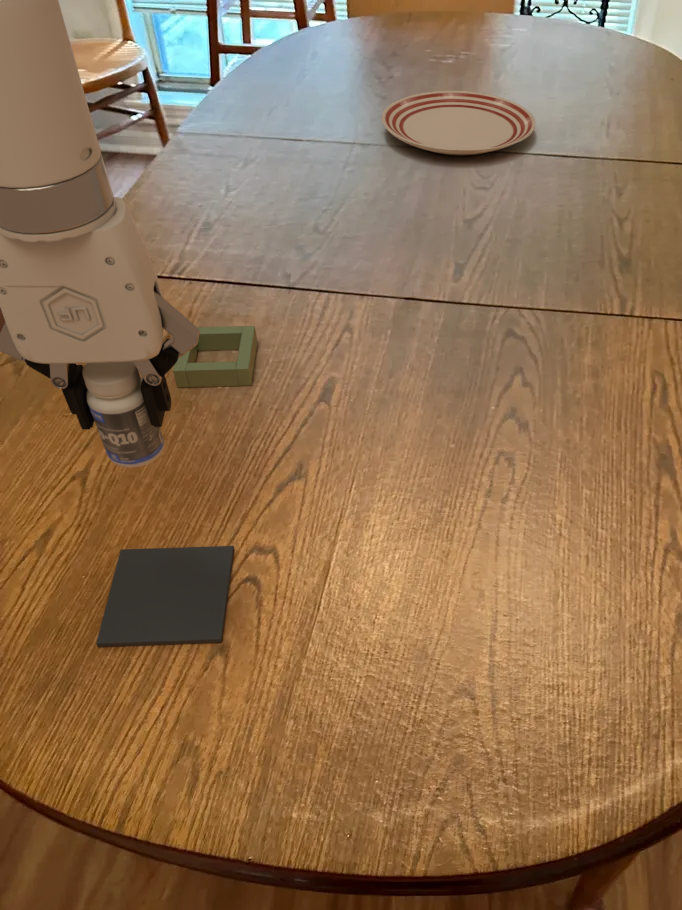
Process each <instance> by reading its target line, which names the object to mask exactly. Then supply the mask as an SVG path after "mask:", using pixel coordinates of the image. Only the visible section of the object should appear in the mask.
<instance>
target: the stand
mask: <svg viewBox="0 0 682 910" xmlns="http://www.w3.org/2000/svg"><path fill="white" fill-rule="evenodd" d="M196 327H197V328H198V329H199V331H200V334H199V339H198V344H197V345H196V346H195V347H194V348H192V349H191V350H190V351H189V352H187V353H186V354H185V355H184V356H183V355H182V356H181V357H180V358H179V359H178V361H177V362H176V363H175V365H174V366H173V367H172V374H173V377H174V380H175V384H176V387H177V388H209V387H210V388H212V387H213V388H214V387H241V386H242V387H243V386H252V384H253V375H254V369H255V363H256V356H257V348H258V337H257V332H256V326H255V325H234V326H233V325H231V326H228V325H227V326H196ZM236 350H237V351H238V353H237V354H238V355H237V358H236V359H237V360H236V361H210V362H209V361H208V362H207V361H205V362H204V361H203V362H196V361H197V356H198V351H199V352H200V351H202V352H204V351H205V352H207V351H236Z"/></svg>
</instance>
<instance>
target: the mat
mask: <svg viewBox="0 0 682 910" xmlns="http://www.w3.org/2000/svg"><path fill="white" fill-rule="evenodd" d="M234 555H235V546H234V545H215V546H214V545H213V546H212V545H211V546H186V547H185V546H184V547H182V546H181V547H157V548H155V547H154V548H126V549H125V548H124V549H123V548H122V549H120V550H119V554H118V559H117V562H116V565H115V570H114V574H113V578H112V581H111V585H110V588H109V593H108V596H107V601H106V604H105V607H104V612H103V616H102V620H101V623H100V627H99V632H98V635H97V639H96V641H95V644H96V646H97V648H113V647H115V648H116V647H117V648H118V647H139V646H140V647H141V646H142V647H143V646H145V647H146V646H169V645H172V646H173V645H195V644H221V643H223V637H224V631H225V623H226V616H227V615H226V614H227V607H228V601H229V594H230V586H231V578H232V572H233V563H234V557H235V556H234Z"/></svg>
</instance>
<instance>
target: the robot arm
mask: <svg viewBox="0 0 682 910" xmlns="http://www.w3.org/2000/svg"><path fill="white" fill-rule="evenodd" d="M69 37H70V36H69V33H68V30H67V26H66V23H65V19H64V16H63V12H62V9H61V5H60V1H59V0H0V310H1V313H2V316H3V317H2V318H3V319H4V323H3V326H2V327H1V330H0V352H1V353H4V354H5V355H8V356H10V357H12V358H14V359H16V360H18V361H20V362H22V361H23V362H25V363H24V364H26V366H28V367H29V368H30V369H33V370H34V371H35V372H37V373H39V374H41V375H43V376H45V377H46V378H48V379H50V383H51V385H52V386H53V387H54V388H56V389H59V390H61V392H62V394H63V396H64V399H65V402H66V404H67V407H68V409H69V411H70V413H71V414H72V415H75V416H76V418H77V421H78V423H79V425H80V428H81V429H82V430H91V428H93V426H94V424H95V421H94V419H93V416H92V414H91V411H90V408H89V406H88V403H87V399H86V394H87V390H88V389H87V387H86V384H85V381H84V378H83V374H82V371H83V368H84V365H83V364H86V363H109V362H133V363H134V365H135V366H136V368H137V369H138V371H139V374H140V377H141V378H142V379H143V380H142V383H141V387H140V389H141V394H142V397H143V400H144V403H145V406H146V410H147V413H148V416H149V419H150V422H151V425H154V427H160V428H162V427H163V422H164V417H165V413H166V412H170V411H171V408H172V396H171V392H170V388H169V385H168V382H167V378H166V375H167V373H169V371H170V370H171V369H173V368H174V365H175V363H176V362H177V361H178V359H179V358H180V357H181V356H182V355H183V356H184V355H185V354H186V353H187V352H189V351H190V350H191V349H192V348H194V347H195V346H196V345H197V344H198V339H199V334H200V331H199V329H198V328H197V327H198V326H197V325H195V324H194V323H192V321H190V319H188V318H187V317H186V316H185V315H184V314H182V313H181V312H180V311H179V310H178V309H176V307H174V306H173V305H172V304H171V303H170V302H169V301H167V299H165V297H164V294H163V290H162V286H161V284H160V280H159V277H158V275H157V272H156V269H155V266H154V264H153V261H152V258H151V256H150V253H149V250H148V248H147V246H146V243H145V241H144V239H143V236H142V234H141V231H140V229H139V227H138V226H137V224H136V221H135V220H134V217H133V215H132V214H131V211H130V209H129V207H128V206H127V204H126V202H125V201H124V199H122V198H121V197H119V196H114V193H113V189H112V186H111V182H110V179H109V176H108V172H107V168H106V165H105V161H104V157H103V154H102V152H101V147H100V143H99V139H98V136H97V133H96V129H95V125H94V122H93V119H92V115H91V112H90V107H89V104H88V101H87V97H86V94H85V91H84V86H83V84H82V79H81V76H80V72H79V69H78V65H77V62H76V59H75V55H74V51H73V48H72V44H71V40H70V38H69ZM163 330H164V331H166V332H167V333H168V334H169V335H170V336H171V337H170V338H166V339H165V340H164V332H163Z"/></svg>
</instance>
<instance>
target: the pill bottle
mask: <svg viewBox="0 0 682 910" xmlns="http://www.w3.org/2000/svg"><path fill="white" fill-rule="evenodd" d="M83 367H84V368H83V371H82V374H83V378H84V381H85V384H86V387H87V389H88V390H87V394H86V399H87V403H88V406H89V408H90V411H91V414H92V416H93V419H94V424H95V427H96V430H97V432H98V434H99V437H100V439H101V443H102V445H103V448H104V450H105V454H106V456H107V458H108V459H109V460H110V461H111V463H112V464H115V465H116V466H119V467H122V468H131V469H135V468H140V467H144V466H147V465H149V464H152V463H153V462H155V461H156V460H157V459H158V458H159V457H160V456H161V455H162V454H163V452H164V449H165V439H164V435H163V433H162V428H161V427H154V425H151V422H150V419H149V416H148V413H147V410H146V406H145V403H144V400H143V397H142V394H141V389H140V387H141V383H142V380H143V378H142V376H141V374H140V372H139V371H138V369H137V368H136V366H135V365H134V363H133V362H109V363H85V365H83Z"/></svg>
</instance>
